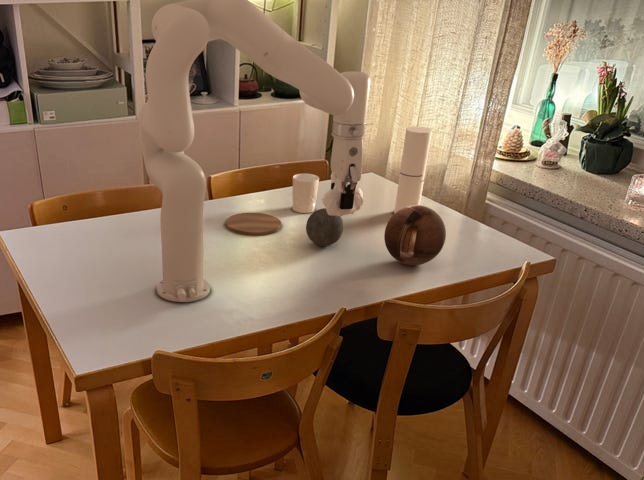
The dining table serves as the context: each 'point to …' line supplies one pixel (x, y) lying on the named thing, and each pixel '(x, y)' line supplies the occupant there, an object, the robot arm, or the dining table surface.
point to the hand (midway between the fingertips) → (341, 202)
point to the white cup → (304, 192)
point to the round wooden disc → (253, 224)
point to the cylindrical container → (413, 167)
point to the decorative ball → (324, 228)
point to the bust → (333, 199)
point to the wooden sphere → (415, 235)
